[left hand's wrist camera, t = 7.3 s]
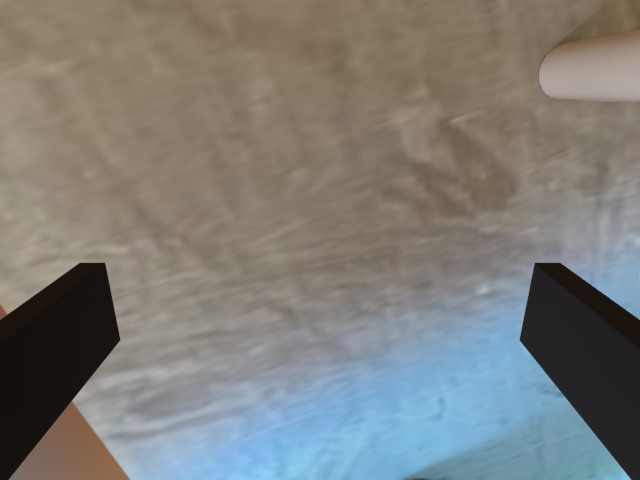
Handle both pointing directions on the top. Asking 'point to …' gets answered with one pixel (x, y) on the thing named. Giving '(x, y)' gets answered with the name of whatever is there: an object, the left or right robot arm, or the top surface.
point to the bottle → (594, 69)
